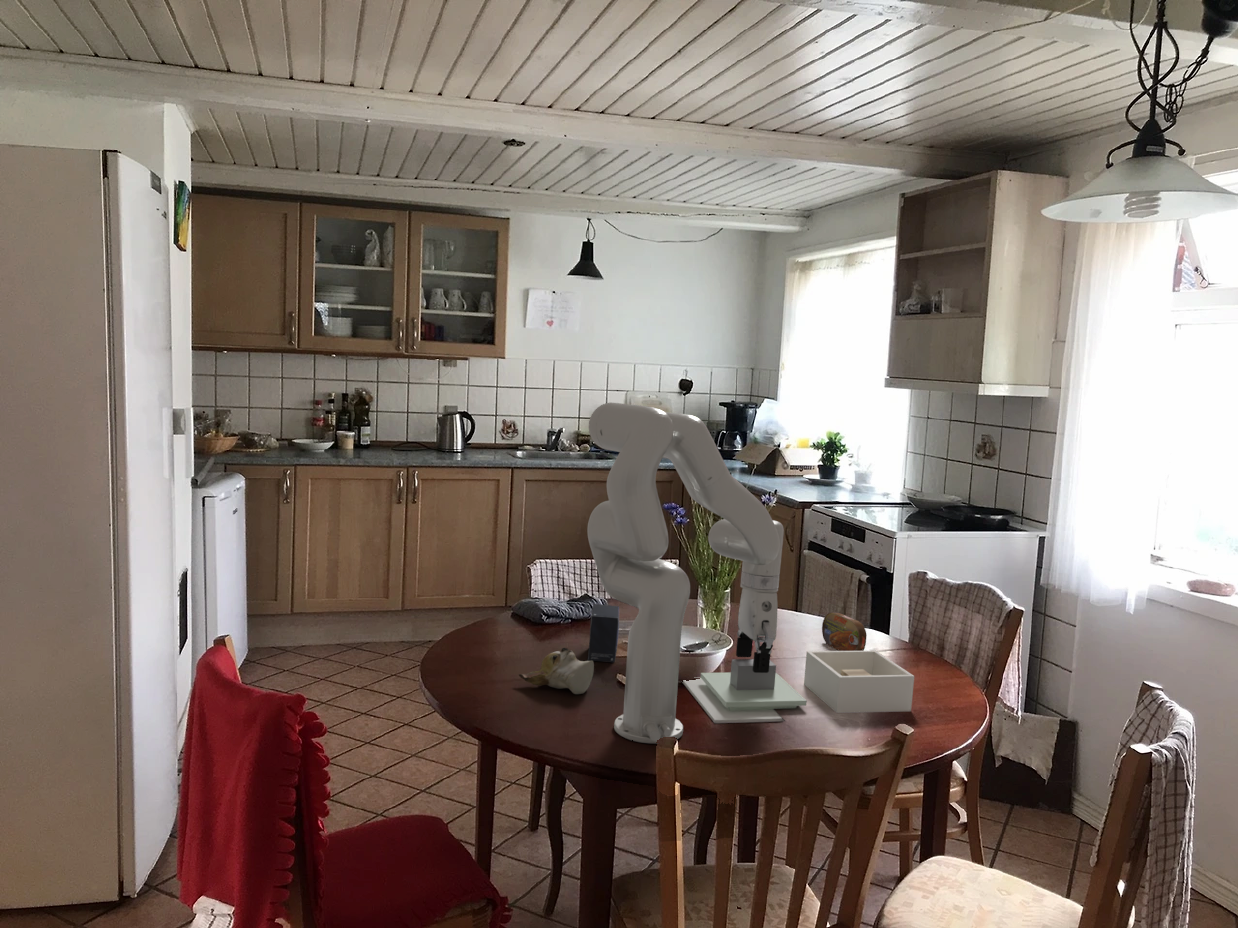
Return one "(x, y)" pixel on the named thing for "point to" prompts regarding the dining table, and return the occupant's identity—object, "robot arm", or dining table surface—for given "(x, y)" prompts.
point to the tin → (843, 632)
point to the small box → (603, 633)
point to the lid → (752, 688)
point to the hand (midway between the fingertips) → (751, 664)
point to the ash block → (854, 672)
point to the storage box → (858, 682)
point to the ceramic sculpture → (562, 672)
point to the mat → (723, 713)
